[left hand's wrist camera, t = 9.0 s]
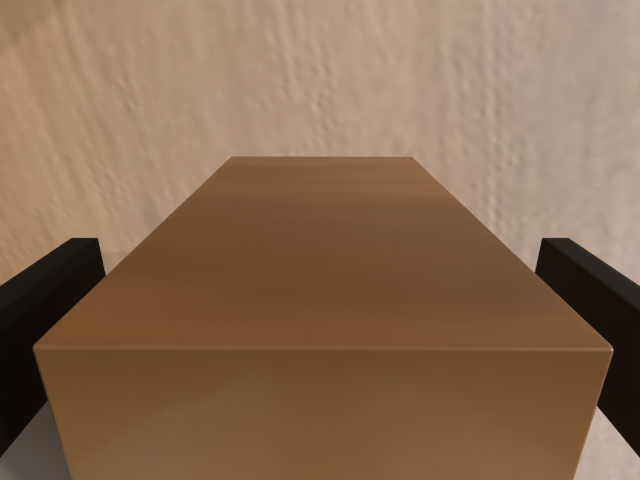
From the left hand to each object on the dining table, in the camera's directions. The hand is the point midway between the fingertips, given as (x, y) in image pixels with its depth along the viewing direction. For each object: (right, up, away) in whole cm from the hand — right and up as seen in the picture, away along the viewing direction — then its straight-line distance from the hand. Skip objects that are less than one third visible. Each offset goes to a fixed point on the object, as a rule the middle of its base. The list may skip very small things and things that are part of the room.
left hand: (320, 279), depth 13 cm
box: (0, -6, +6) cm, 8 cm away
